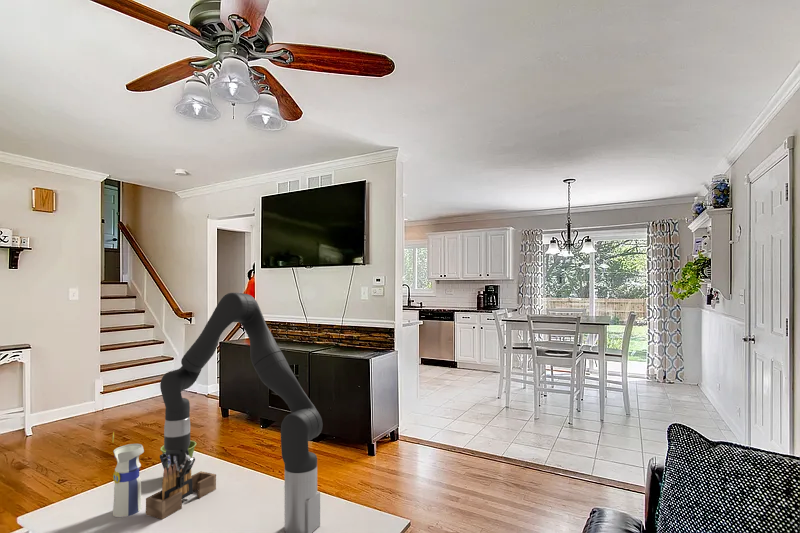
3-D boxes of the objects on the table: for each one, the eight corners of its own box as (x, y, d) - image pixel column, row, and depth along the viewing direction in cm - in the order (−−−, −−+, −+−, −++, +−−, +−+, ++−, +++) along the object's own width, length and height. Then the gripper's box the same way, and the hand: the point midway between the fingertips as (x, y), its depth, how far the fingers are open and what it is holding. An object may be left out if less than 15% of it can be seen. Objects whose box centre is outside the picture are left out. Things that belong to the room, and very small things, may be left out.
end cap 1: (181, 508, 139) (181, 492, 139) (162, 519, 132) (162, 502, 133) (165, 504, 141) (165, 488, 142) (145, 514, 135) (145, 498, 135)
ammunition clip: (164, 508, 136) (164, 469, 136) (160, 507, 137) (160, 468, 137) (192, 493, 146) (193, 456, 146) (188, 492, 146) (188, 455, 147)
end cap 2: (183, 494, 148) (184, 479, 148) (200, 485, 154) (200, 471, 155) (199, 498, 145) (199, 482, 145) (216, 489, 152) (216, 474, 152)
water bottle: (120, 521, 132) (121, 435, 133) (106, 513, 136) (107, 431, 137) (148, 509, 139) (149, 428, 140) (133, 502, 143) (135, 423, 144)
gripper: (202, 431, 143) (202, 485, 142) (171, 426, 148) (171, 479, 147) (183, 438, 136) (182, 496, 135) (151, 433, 141) (151, 488, 140)
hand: (176, 486), depth 141 cm, fingers closed on ammunition clip, 2 cm apart
